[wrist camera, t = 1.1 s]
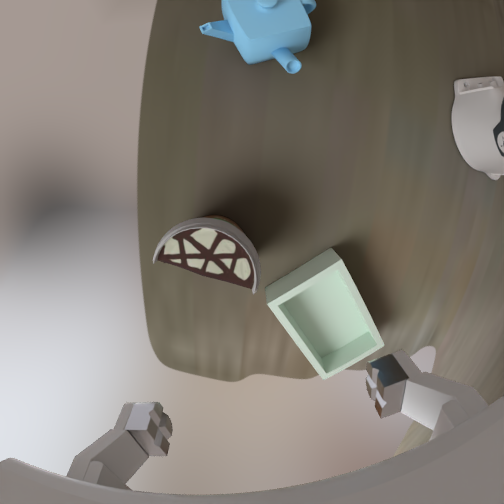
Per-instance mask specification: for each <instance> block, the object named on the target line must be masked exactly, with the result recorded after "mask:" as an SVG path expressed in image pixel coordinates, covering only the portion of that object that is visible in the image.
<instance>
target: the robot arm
mask: <svg viewBox="0 0 504 504" xmlns="http://www.w3.org/2000/svg"><path fill="white" fill-rule="evenodd" d="M464 85H465V86H464ZM454 90H455V100H454V104H453V108H452V129H453V134H454V138H455V141H456V144H457V147H458V149H459V151H460V153H461V155H462V156H463V158H464V159H465V161H466V162H467V163H468V164H469V165H470V166H471V167H472V168H474V169H476V170H478V171H482V172H484V173H486V174H487V175H488V176H489V177H490V178H491V179H492V180H498V179H499V177H500V176H501V175H504V81H503V79H502V77H498V76H493V77H479V78H468V79H459V80H455V82H454ZM366 370H367V372H368V376H367V377H366V386H367V391H368V394H369V396H370V398H371V399H372V400H374V401H375V408H376V410H377V412H378V414H379V416H380V418H384V417H387V416H390V415H392V414H395V413H397V412H400V411H401V413H403V414H405V415H406V416H408V417H410V418H412V419H414V420H415V421H417V422H419V423H421V424H423V425H424V426H426V427H428V428H430V429H432V430H433V433H432V435H431V438H430V440H429V441H428V442H426V443H424V444H422V445H420V446H417V447H415V448H413V449H411V450H409V451H406V452H404V453H402V454H399V455H397V456H394V457H392V458H390V459H387V460H384V461H382V462H379V463H377V464H374V465H371V466H368V467H365V468H362V469H359V470H356V471H353V472H349V473H346V474H342V475H339V476H335V477H332V478H328V479H324V480H319V481H315V482H311V483H306V484H302V485H296V486H291V487H285V488H279V489H273V490H265V491H257V492H247V493H236V494H217V495H181V494H162V493H150V492H141V491H133V490H131V489H130V488H129V487H128V486H126V485H125V484H126V483H127V481H128V480H129V479H130V478H131V477H132V476H133V475H134V474H135V473H136V471H137V470H138V469H139V468H140V467H141V466H142V465H143V463H144V462H145V461H146V460H147V459H148V458H149V456H167V454H168V450H169V445H170V444H169V442H168V441H167V439H169V438H170V437H171V436H172V423H171V420H170V418H169V416H168V415H167V414H165V413H163V407H162V405H161V404H160V403H158V402H142V403H141V402H139V403H138V402H136V403H126V404H124V406H123V408H122V410H121V413H120V415H119V418H118V420H117V422H116V425H115V427H114V430H113V429H111V430H109V431H108V432H107V433H105V434H104V435H103V436H102V437H100V438H99V439H98V440H96V441H95V442H94V443H93V444H91V445H90V446H88V447H87V448H86V449H84V450H83V451H82V452H80V453H79V454H78V455H76V456H75V458H74V460H73V462H72V465H71V467H70V469H69V472H68V474H67V476H62V475H59V474H56V473H52V472H49V471H46V470H43V469H41V468H37V467H35V466H32V465H30V464H27V463H24V462H22V461H20V460H17V459H14V458H8V459H6V460H3V461H1V462H0V504H504V395H503V396H502V397H500V398H499V399H498V400H496V401H495V402H493V403H492V404H491V405H488V404H487V403H486V401H485V400H484V399H483V398H482V397H481V395H480V394H479V393H478V392H477V391H476V390H475V388H474V387H472V386H469V385H465V384H462V383H459V382H456V381H452V380H449V379H446V378H443V377H440V376H437V375H434V374H431V373H428V372H423V373H422V372H421V371H420V370H419V369H418V367H417V366H416V365H415V364H414V362H413V361H412V360H411V358H410V357H409V356H408V355H407V354H406V352H405V351H404V350H402V349H401V350H399V351H396V352H394V353H391V354H388V355H386V356H383V357H380V358H377V359H375V360H372V361H369V362H367V364H366Z"/></svg>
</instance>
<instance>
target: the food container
mask: <svg viewBox="0 0 504 504" xmlns="http://www.w3.org/2000/svg"><path fill="white" fill-rule="evenodd" d="M158 260H159V261H161V262H164V263H168V264H172V265H175V266H178V267H181V268H184V269H186V270H189V271H192V272H194V273H197V274H200V275H202V276H206V277H210V278H214V279H218V280H222V281H226V282H230V283H233V284H236V285H240V286H243V287H247V288H250V289H252V291H253V294H254V292H256V291H257V289H258V286H259V283H260V276H261V267H260V261H259V257H258V254H257V252H256V249H255V247H254V246H253V244H252V243H251V241H250V240H249V239H248V238H247V236H246V235H245V234H244V232H243V231H242V229H241V228H240V227H239V226H238V225H237V223H235V222H234V221H232V220H231V219H229V218H227V217H224V216H220V215H208V216H204V217H201V218H194V219H190V220H186V221H184V222H182V223H179V224H177V225H176V226H174V227H173V228H171V229H170V230H169V231H168V232H167V233H166V234H165V235H164V236H163V238H162V239H161V241H160V242H159V244H158V246H157V248H156V251H155V254H154V258H153V261H154V262H153V264H154V263H155V262H156V261H158Z"/></svg>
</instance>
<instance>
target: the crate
mask: <svg viewBox="0 0 504 504" xmlns="http://www.w3.org/2000/svg"><path fill="white" fill-rule="evenodd" d="M265 291H266V299H267V305H268V306H269V307H270V309H271V310H272V311H273V313H274V314H275V316H276V317H277V318H278V320H279V321H280V322H281V324H282V325H283V326H284V328H285V329H286V331H287V332H288V333H289V335H290V336H291V337H292V339H293V340H294V341H295V343H296V344H297V345H298V347H299V348H300V350H301V351H302V352H303V354H304V355H305V356H306V358H307V359H308V360H309V362H310V363H311V364H312V366H313V367H314V368H315V370H316V371H317V372H318V374H319V375H320V376H321V378H322V379H323V380H325V379H327V378H328V377H331V376H332V375H335V374H336V373H338V372H340V371H342V370H344V369H346V368H347V367H349V366H351V365H353V364H354V363H356V362H358V361H360V360H361V359H363V358H365V357H366V356H368V355H370V354H371V353H373V352H375V351H376V350H378V349H380V348H381V347H383V346H384V343H383V341H382V339H381V336H380V334H379V332H378V330H377V328H376V326H375V324H374V322H373V320H372V317H371V315H370V313H369V311H368V309H367V307H366V305H365V303H364V301H363V299H362V297H361V295H360V293H359V291H358V289H357V287H356V285H355V284H354V282H353V280H352V278H351V276H350V274H349V272H348V270H347V268H346V266H345V265H344V263H343V261H342V259H341V258H340V257H339V256H338V255H337V253H336V252H335V251H334V250H333V249H332V248H329V249H328V250H326V251H324V252H323V253H321V254H320V255H318V256H316V257H315V258H313V259H311V260H310V261H308V262H307V263H305V264H303V265H302V266H300V267H298V268H297V269H295V270H294V271H292V272H290V273H289V274H287V275H285V276H284V277H282V278H280V279H279V280H277V281H275V282H274V283H272V284H270V285H269V286H267V287H265Z"/></svg>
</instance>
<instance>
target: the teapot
mask: <svg viewBox="0 0 504 504" xmlns="http://www.w3.org/2000/svg"><path fill="white" fill-rule="evenodd" d="M304 4H305V5H304ZM303 5H304V6H303ZM315 8H316V2H315V0H222V13H223V17H224V20H223V21H217V22H211V23H210V22H208V23H206V24H204V25H202V26H200V30H201V32H202V33H203V34H206V35H210V36H214V37H217V38H221V39H224V40H228V41H231V42H234V44H235V45H236V47H237V49H238V51H239V52H240V54H241V56H242V57H243V59H244V60H245V61H246V63H248V64H249V65H251V64H256V63H260V62H264V61H268V60H271V59H276V60H277V61H278V62H279V63H280V64H281V65H282V66H283V67H284V68H285V69H286V71H287V72H289V73H297V72H298V71H299V70H300V69H301V62H300V61H299V60H298V59H297V58H296V57H295V56H294V55H293V54H294V53H297V52H300V51H303V50H304V49H305V48H306V47H307V45H308V43H309V40H310V35H311V22H310V20H309V17H308V15H307V14H309V13H310V12H312V11H313V10H314V9H315Z"/></svg>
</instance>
